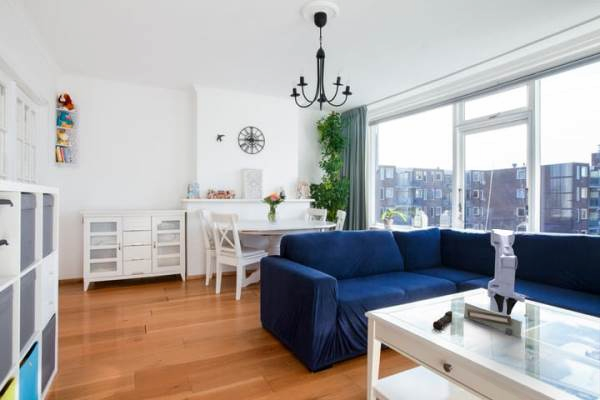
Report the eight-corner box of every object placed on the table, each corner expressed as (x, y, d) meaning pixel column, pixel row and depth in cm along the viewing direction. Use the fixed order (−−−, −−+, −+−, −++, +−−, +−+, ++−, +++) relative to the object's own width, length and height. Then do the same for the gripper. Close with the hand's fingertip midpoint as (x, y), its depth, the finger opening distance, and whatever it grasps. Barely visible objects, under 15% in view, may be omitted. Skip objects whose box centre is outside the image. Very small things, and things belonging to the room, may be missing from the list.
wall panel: (465, 315, 167) (466, 302, 167) (520, 336, 145) (521, 320, 145) (460, 316, 166) (461, 303, 165) (516, 338, 143) (517, 322, 143)
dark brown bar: (441, 332, 147) (441, 321, 147) (432, 329, 150) (433, 318, 150) (457, 321, 161) (457, 311, 161) (448, 318, 164) (449, 309, 163)
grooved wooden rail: (469, 317, 163) (468, 309, 164) (511, 325, 146) (510, 316, 147) (468, 317, 163) (467, 309, 163) (510, 325, 146) (509, 316, 146)
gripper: (485, 279, 150) (483, 309, 151) (519, 288, 138) (517, 320, 138) (493, 277, 154) (492, 306, 155) (528, 286, 142) (526, 317, 142)
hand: (504, 313), depth 147 cm, fingers open, 3 cm apart
